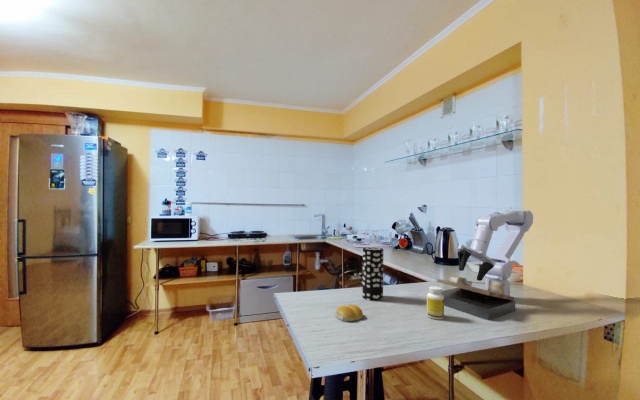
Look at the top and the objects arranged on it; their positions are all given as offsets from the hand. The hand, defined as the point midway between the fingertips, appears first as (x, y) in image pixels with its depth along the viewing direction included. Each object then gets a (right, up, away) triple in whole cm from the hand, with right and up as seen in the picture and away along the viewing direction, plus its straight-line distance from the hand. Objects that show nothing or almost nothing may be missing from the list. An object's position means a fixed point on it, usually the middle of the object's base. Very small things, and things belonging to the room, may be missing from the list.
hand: (469, 275), depth 106 cm
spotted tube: (-35, -12, +9) cm, 38 cm away
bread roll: (-47, -11, -12) cm, 50 cm away
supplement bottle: (-18, -11, -11) cm, 24 cm away
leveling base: (+1, -12, 0) cm, 12 cm away
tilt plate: (+2, -6, +1) cm, 7 cm away
